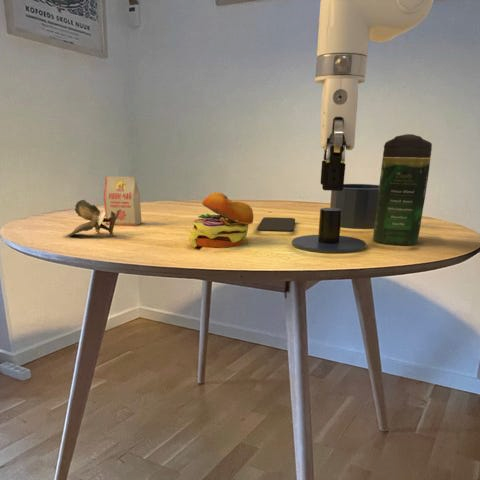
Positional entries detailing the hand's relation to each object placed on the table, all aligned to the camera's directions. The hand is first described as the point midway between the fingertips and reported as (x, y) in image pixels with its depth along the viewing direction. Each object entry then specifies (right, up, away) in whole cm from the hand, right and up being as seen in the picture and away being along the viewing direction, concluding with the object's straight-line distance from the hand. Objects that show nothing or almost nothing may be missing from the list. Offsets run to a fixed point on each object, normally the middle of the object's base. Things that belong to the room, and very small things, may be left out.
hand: (330, 187), depth 77 cm
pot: (+10, -2, +24) cm, 26 cm away
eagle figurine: (-44, -6, +14) cm, 46 cm away
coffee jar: (+13, -8, +8) cm, 18 cm away
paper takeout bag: (-41, -1, +27) cm, 49 cm away
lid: (0, -9, +3) cm, 10 cm away
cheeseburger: (-19, -9, +6) cm, 21 cm away
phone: (-7, -2, +22) cm, 24 cm away
